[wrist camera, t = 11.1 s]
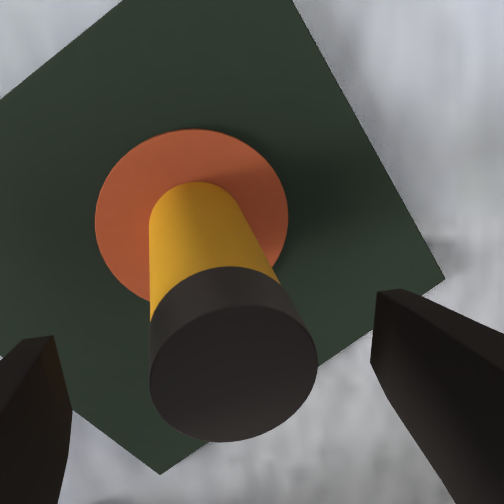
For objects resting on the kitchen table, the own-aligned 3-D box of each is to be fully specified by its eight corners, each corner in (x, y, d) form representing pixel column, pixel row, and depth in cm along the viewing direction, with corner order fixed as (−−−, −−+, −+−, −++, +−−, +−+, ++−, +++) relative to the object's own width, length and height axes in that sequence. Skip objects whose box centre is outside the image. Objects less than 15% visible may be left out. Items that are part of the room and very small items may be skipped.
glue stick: (193, 286, 18) (228, 467, 11) (126, 225, 17) (110, 386, 9) (262, 226, 18) (349, 371, 10) (199, 158, 16) (246, 270, 9)
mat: (159, 468, 23) (160, 479, 22) (-158, 228, 15) (-169, 235, 15) (441, 275, 21) (448, 281, 21) (237, -92, 14) (241, -97, 13)
